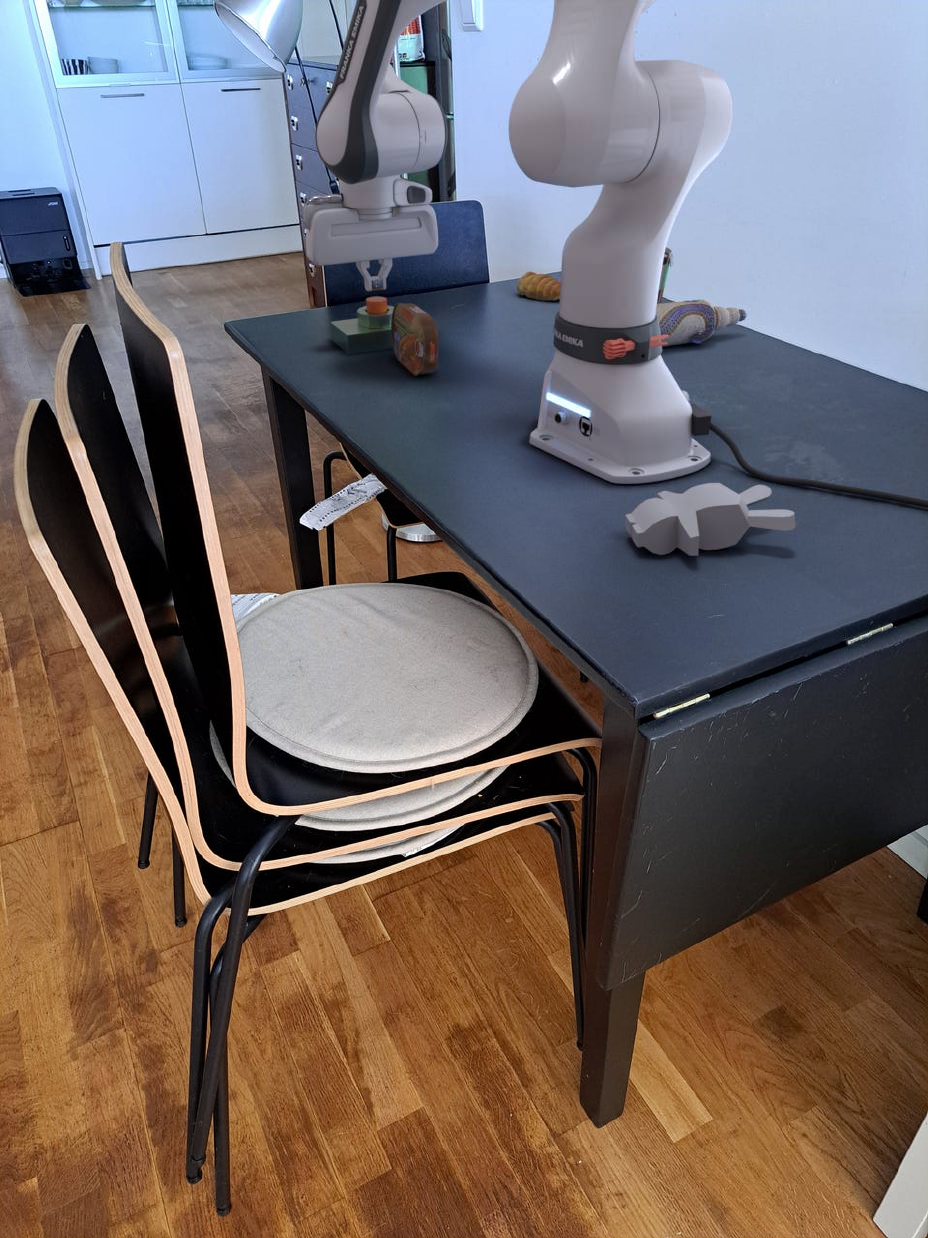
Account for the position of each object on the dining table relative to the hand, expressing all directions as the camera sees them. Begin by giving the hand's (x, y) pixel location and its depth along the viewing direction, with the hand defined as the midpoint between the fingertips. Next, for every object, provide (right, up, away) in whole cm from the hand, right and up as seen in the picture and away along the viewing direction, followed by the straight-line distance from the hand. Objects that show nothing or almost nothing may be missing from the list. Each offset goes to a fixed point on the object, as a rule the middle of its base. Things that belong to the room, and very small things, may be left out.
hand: (375, 289), depth 137 cm
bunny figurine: (+37, -43, -50) cm, 76 cm away
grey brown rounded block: (+45, +5, +22) cm, 50 cm away
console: (0, -7, +4) cm, 8 cm away
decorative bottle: (+47, -8, +2) cm, 47 cm away
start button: (0, -3, +2) cm, 3 cm away
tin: (+6, -14, -6) cm, 16 cm away
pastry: (+28, +9, +28) cm, 40 cm away
